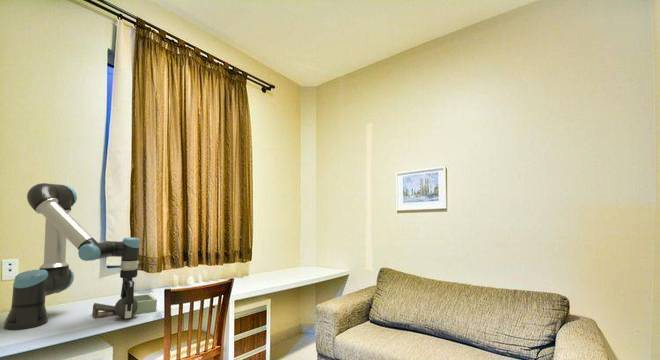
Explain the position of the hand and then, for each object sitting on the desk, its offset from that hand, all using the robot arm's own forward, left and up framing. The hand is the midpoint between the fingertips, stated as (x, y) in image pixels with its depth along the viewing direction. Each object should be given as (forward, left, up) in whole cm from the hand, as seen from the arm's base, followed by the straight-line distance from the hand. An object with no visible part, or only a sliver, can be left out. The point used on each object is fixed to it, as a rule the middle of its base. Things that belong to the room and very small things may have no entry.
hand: (125, 315), depth 172 cm
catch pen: (+9, +11, -1) cm, 14 cm away
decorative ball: (0, 0, -2) cm, 2 cm away
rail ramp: (-7, +11, -1) cm, 13 cm away
